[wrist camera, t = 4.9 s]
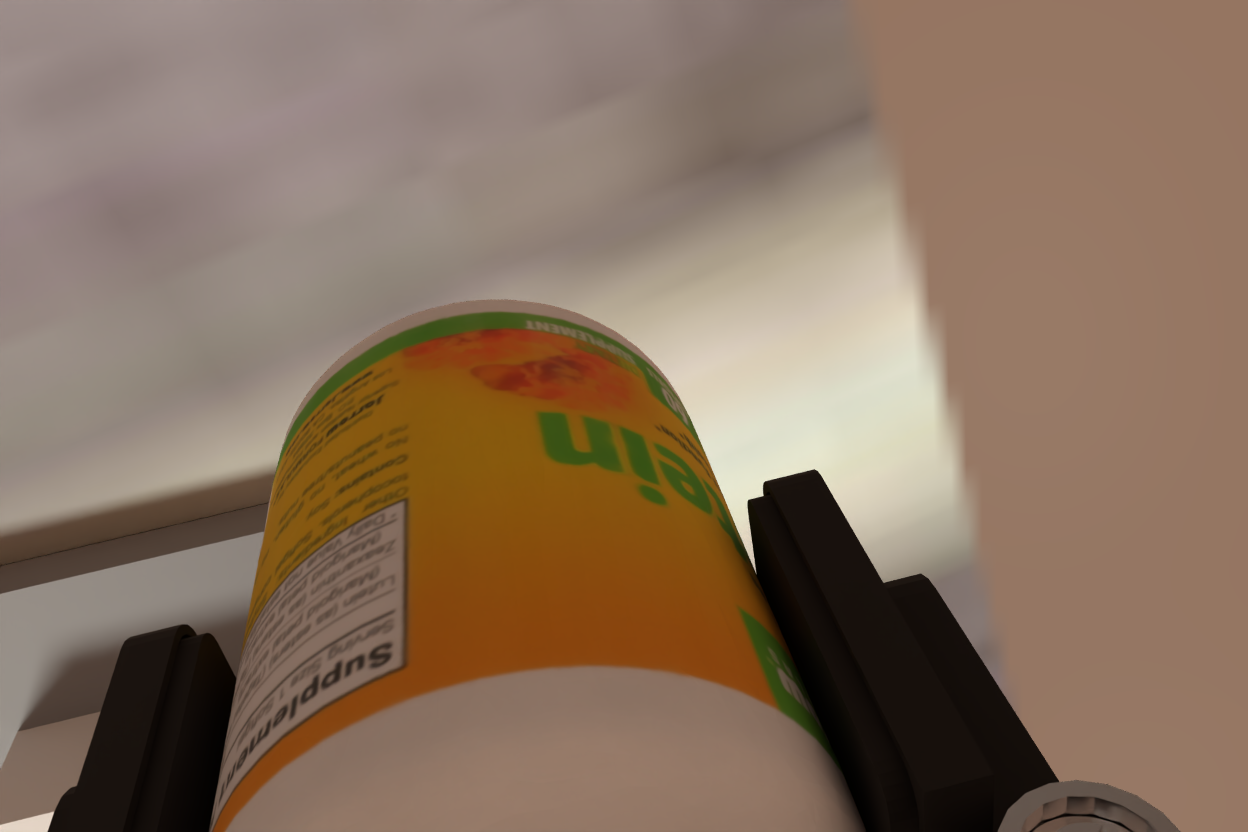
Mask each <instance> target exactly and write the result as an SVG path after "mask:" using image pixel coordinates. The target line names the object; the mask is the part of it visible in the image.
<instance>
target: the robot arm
mask: <svg viewBox="0 0 1248 832" xmlns="http://www.w3.org/2000/svg"><path fill="white" fill-rule="evenodd" d="M763 495H764V496H762V497H758V498H754V499H750V500H748V515H749V522H750V529H751V537H752V544H753V551H754V559H755V566H756V573H757V577H758V580H759V582H760V584H761V587H762V589H763V591H764V594H765V596H766V598H767V601H768V603H769V605H770V608H771V610H772V612H773V614H774V616H775V619H776V621H777V623H778V625H779V627H780V630H781V632H782V634H783V637H784V639H785V641H786V644H787V646H788V648H789V651H790V653H791V655H792V657H793V660H794V662H795V664H796V667H797V669H798V671H799V674H800V676H801V678H802V681H803V683H804V685H805V688H806V690H807V692H808V695H809V697H810V699H811V701H812V704H813V706H814V708H815V711H816V713H817V715H818V717H819V720H820V722H821V724H822V726H823V728H824V731H825V733H826V735H827V738H828V740H829V742H830V745H831V747H832V749H833V751H834V753H835V755H836V757H837V759H838V762H839V764H840V766H841V769H842V771H843V774H844V776H845V779H846V781H847V784H848V786H849V789H850V791H851V794H852V796H853V799H854V801H855V804H856V806H857V809H858V811H859V814H860V816H861V818H862V821H863V823H864V826H865V829H866V832H1180V831H1179V830H1178V828H1177V827H1176V826H1175V825H1174V824H1173V823H1172V822H1171V821H1170V820H1169V819H1168V818H1167V817H1166V816H1165V815H1164V813H1163V812H1161V811H1160V810H1158V809H1156V808H1155V807H1153V806H1152V805H1150V804H1149V803H1147V802H1146V801H1144V800H1143V799H1141V798H1140V797H1138V796H1137V795H1134V794H1132V793H1129V792H1126V791H1124V790H1121V789H1118V788H1116V787H1113V786H1110V785H1108V784H1102V783H1094V782H1087V781H1079V780H1074V781H1065V782H1059V780H1058V779H1057V777H1056V776H1055V774H1054V772H1053V771H1052V769H1051V768H1050V766H1049V765H1048V763H1047V762H1046V760H1045V758H1044V757H1043V755H1042V754H1041V752H1040V751H1039V749H1038V747H1037V746H1036V744H1035V743H1034V741H1033V740H1032V738H1031V737H1030V735H1029V733H1028V732H1027V730H1026V729H1025V727H1024V726H1023V724H1022V722H1021V721H1020V719H1019V718H1018V716H1017V715H1016V713H1015V712H1014V710H1013V708H1012V707H1011V705H1010V704H1009V702H1008V701H1007V699H1006V697H1005V696H1004V694H1003V693H1002V691H1001V690H1000V688H999V686H998V685H997V683H996V682H995V680H994V679H993V677H992V676H991V674H990V672H989V671H988V669H987V668H986V666H985V665H984V663H983V661H982V660H981V658H980V657H979V655H978V654H977V652H976V651H975V649H974V647H973V646H972V644H971V643H970V641H969V640H968V638H967V636H966V635H965V633H964V632H963V630H962V629H961V627H960V626H959V624H958V622H957V621H956V619H955V618H954V616H953V615H952V613H951V611H950V610H949V608H948V607H947V605H946V604H945V602H944V601H943V599H942V597H941V596H940V594H939V593H938V591H937V590H936V588H935V587H934V586H933V584H932V583H931V582H930V580H929V579H928V578H927V577H925V576H924V575H922V574H917V575H913V576H909V577H905V578H901V579H897V580H893V581H889V582H885V583H883V582H882V580H881V578H880V576H879V575H878V573H877V571H876V569H875V568H874V566H873V564H872V563H871V561H870V559H869V557H868V556H867V554H866V552H865V551H864V549H863V547H862V545H861V544H860V542H859V540H858V538H857V537H856V535H855V533H854V532H853V530H852V528H851V526H850V525H849V523H848V521H847V519H846V518H845V516H844V514H843V513H842V511H841V509H840V507H839V506H838V504H837V502H836V501H835V499H834V497H833V495H832V494H831V492H830V490H829V488H828V487H827V485H826V483H825V482H824V480H823V478H822V476H821V475H820V474H819V472H818V471H816V470H815V469H814V470H810V471H806V472H802V473H798V474H794V475H790V476H786V477H781V478H777V479H773V480H769V481H765V482H764V484H763ZM236 680H237V679H236V677H235V675H234V673H233V671H232V669H231V667H230V665H229V663H228V661H227V659H226V657H225V655H224V654H223V652H222V650H221V648H220V646H219V644H218V642H217V640H216V639H215V637H214V636H213V635H212V634H210V633H204V634H200V635H197V634H196V632H195V631H194V629H193V628H191V627H190V626H189V625H187V624H181V625H177V626H173V627H169V628H164V629H160V630H156V631H152V632H148V633H144V634H140V635H136V636H132V637H129V638H128V639H127V640H125V641H124V643H123V645H122V647H121V650H120V653H119V656H118V659H117V662H116V665H115V669H114V672H113V675H112V678H111V681H110V684H109V687H108V690H107V693H106V696H105V700H104V703H103V706H102V709H101V712H100V715H99V718H98V721H97V724H96V727H95V731H94V734H93V737H92V740H91V743H90V746H89V749H88V752H87V755H86V758H85V762H84V765H83V768H82V771H81V774H80V777H79V780H78V783H77V786H75V787H71V788H70V789H69V790H68V791H67V792H66V793H64V794H63V795H62V796H61V799H60V801H59V803H58V805H57V807H56V809H55V811H54V814H53V817H52V820H51V823H50V826H49V829H48V832H209V827H210V822H211V817H212V812H213V806H214V801H215V796H216V791H217V785H218V780H219V774H220V768H221V763H222V757H223V752H224V746H225V740H226V735H227V730H228V724H229V719H230V713H231V708H232V702H233V697H234V691H235V685H236Z"/></svg>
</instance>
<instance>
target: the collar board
mask: <svg viewBox="0 0 1248 832" xmlns="http://www.w3.org/2000/svg"><path fill="white" fill-rule="evenodd" d="M268 507H269V503H267V504H263V505H258V506H254V507H250V508H246V509H241V510H237V511H233V512H229V513H224V514H220V515H216V516H212V517H207V518H203V519H199V520H195V521H190V522H186V523H182V524H178V525H173V526H169V527H165V528H161V529H156V530H152V531H148V532H144V533H139V534H135V535H131V536H127V537H122V538H118V539H114V540H110V541H105V542H101V543H97V544H93V545H88V546H84V547H80V548H76V549H71V550H67V551H63V552H59V553H54V554H50V555H46V556H42V557H37V558H33V559H29V560H25V561H20V562H16V563H12V564H8V565H3V566H0V832H48V829H49V826H50V823H51V820H52V817H53V814H54V811H55V809H56V807H57V805H58V803H59V801H60V799H61V796H62V795H63V794H64V793H66V792H67V791H68V790H69V789H70V788H71V787H75V786H77V783H78V780H79V777H80V774H81V771H82V768H83V765H84V762H85V758H86V755H87V752H88V749H89V746H90V743H91V740H92V737H93V734H94V731H95V727H96V724H97V721H98V718H99V715H100V712H101V709H102V706H103V703H104V700H105V696H106V693H107V690H108V687H109V684H110V681H111V678H112V675H113V672H114V669H115V665H116V662H117V659H118V656H119V653H120V650H121V647H122V645H123V643H124V641H125V640H127V639H128V638H129V637H132V636H136V635H140V634H144V633H148V632H152V631H156V630H160V629H164V628H169V627H173V626H177V625H181V624H187V625H189V626H190V627H191V628H193V629H194V631H195V632H196V634H197V635H200V634H204V633H210V634H212V635H213V636H214V637H215V639H216V640H217V642H218V644H219V646H220V648H221V650H222V652H223V654H224V655H225V657H226V659H227V661H228V663H229V665H230V667H231V669H232V671H233V673H234V675H235V677H236V679H237V675H238V670H239V665H240V659H241V653H242V647H243V641H244V635H245V630H246V624H247V619H248V614H249V608H250V603H251V597H252V592H253V586H254V581H255V576H256V571H257V566H258V559H259V554H260V549H261V545H262V540H263V535H264V530H265V524H266V519H267V513H268Z"/></svg>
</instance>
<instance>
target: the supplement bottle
mask: <svg viewBox="0 0 1248 832" xmlns="http://www.w3.org/2000/svg"><path fill="white" fill-rule="evenodd" d="M209 832H866V829H865V826H864V823H863V821H862V818H861V816H860V814H859V811H858V809H857V806H856V804H855V801H854V799H853V796H852V794H851V791H850V789H849V786H848V784H847V781H846V779H845V776H844V774H843V771H842V769H841V766H840V764H839V762H838V759H837V757H836V755H835V753H834V751H833V749H832V747H831V745H830V742H829V740H828V738H827V735H826V733H825V731H824V728H823V726H822V724H821V722H820V720H819V717H818V715H817V713H816V711H815V708H814V706H813V704H812V701H811V699H810V697H809V695H808V692H807V690H806V688H805V685H804V683H803V681H802V678H801V676H800V674H799V671H798V669H797V667H796V664H795V662H794V660H793V657H792V655H791V653H790V651H789V648H788V646H787V644H786V641H785V639H784V637H783V634H782V632H781V630H780V627H779V625H778V623H777V621H776V619H775V616H774V614H773V612H772V610H771V608H770V605H769V603H768V601H767V598H766V596H765V594H764V591H763V589H762V587H761V584H760V582H759V580H758V577H757V575H756V572H755V570H754V568H753V565H752V563H751V561H750V558H749V556H748V554H747V551H746V549H745V547H744V544H743V542H742V540H741V537H740V535H739V533H738V531H737V528H736V526H735V523H734V521H733V518H732V516H731V514H730V511H729V509H728V506H727V504H726V502H725V499H724V497H723V494H722V492H721V490H720V487H719V485H718V483H717V480H716V478H715V475H714V473H713V471H712V468H711V466H710V463H709V461H708V459H707V456H706V454H705V452H704V449H703V447H702V445H701V442H700V440H699V438H698V435H697V433H696V431H695V428H694V426H693V424H692V421H691V419H690V417H689V415H688V414H687V411H686V409H685V408H684V406H683V404H682V402H681V400H680V398H679V396H678V395H677V393H676V391H675V390H674V388H673V387H672V385H671V384H670V382H669V381H668V379H667V378H666V377H665V375H664V374H663V373H662V372H661V371H660V369H659V368H658V367H657V366H656V365H655V364H654V363H653V362H652V361H651V360H650V359H649V358H648V357H647V356H646V355H645V354H644V353H643V352H642V351H641V350H640V349H639V348H637V347H636V346H635V345H633V344H632V343H631V342H629V341H628V340H627V339H625V338H624V337H623V336H621V335H620V334H618V333H617V332H615V331H614V330H612V329H610V328H608V327H606V326H604V325H602V324H600V323H598V322H596V321H594V320H592V319H590V318H587V317H585V316H583V315H581V314H578V313H575V312H572V311H569V310H565V309H562V308H558V307H555V306H551V305H546V304H540V303H534V302H527V301H517V300H476V301H466V302H459V303H452V304H448V305H444V306H440V307H436V308H431V309H428V310H425V311H421V312H418V313H415V314H412V315H410V316H407V317H405V318H403V319H400V320H398V321H396V322H394V323H392V324H389V325H387V326H385V327H383V328H382V329H380V330H379V331H377V332H375V333H374V334H372V335H370V336H369V337H367V338H366V339H364V340H363V341H361V342H360V343H358V344H357V345H356V346H354V347H353V348H351V349H350V350H349V351H348V352H346V353H345V354H344V355H343V356H341V357H340V358H339V359H338V360H337V361H336V362H335V363H334V364H333V365H332V366H331V367H330V368H329V369H328V370H327V371H326V372H325V373H324V374H323V375H322V376H321V377H320V379H319V380H318V381H317V382H316V383H315V384H314V385H313V387H312V388H311V390H310V391H309V392H308V394H307V395H306V397H305V398H304V400H303V401H302V403H301V404H300V406H299V408H298V410H297V412H296V413H295V415H294V417H293V419H292V422H291V424H290V426H289V429H288V431H287V434H286V437H285V440H284V443H283V447H282V450H281V454H280V458H279V462H278V466H277V470H276V473H275V477H274V481H273V485H272V490H271V496H270V501H269V507H268V513H267V519H266V524H265V530H264V535H263V540H262V545H261V549H260V554H259V559H258V566H257V571H256V576H255V581H254V586H253V592H252V597H251V603H250V608H249V614H248V619H247V624H246V630H245V635H244V641H243V647H242V653H241V659H240V665H239V670H238V675H237V680H236V685H235V691H234V697H233V702H232V708H231V713H230V719H229V724H228V730H227V735H226V740H225V746H224V752H223V757H222V763H221V768H220V774H219V780H218V785H217V791H216V796H215V801H214V806H213V812H212V817H211V822H210V827H209Z"/></svg>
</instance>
